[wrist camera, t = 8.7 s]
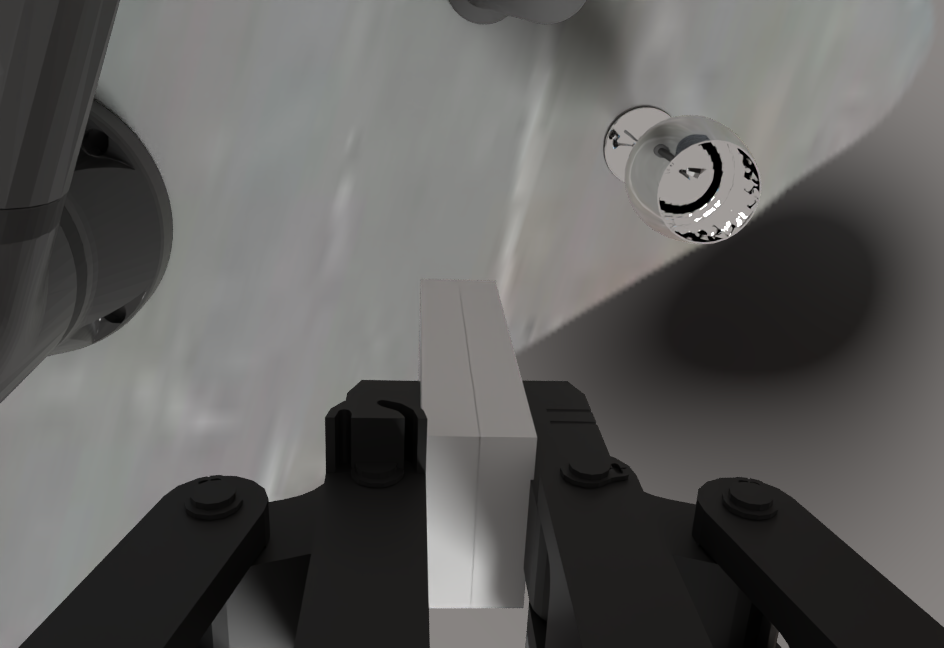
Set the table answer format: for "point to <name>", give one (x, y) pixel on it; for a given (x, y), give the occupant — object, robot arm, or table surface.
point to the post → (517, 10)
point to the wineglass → (684, 174)
